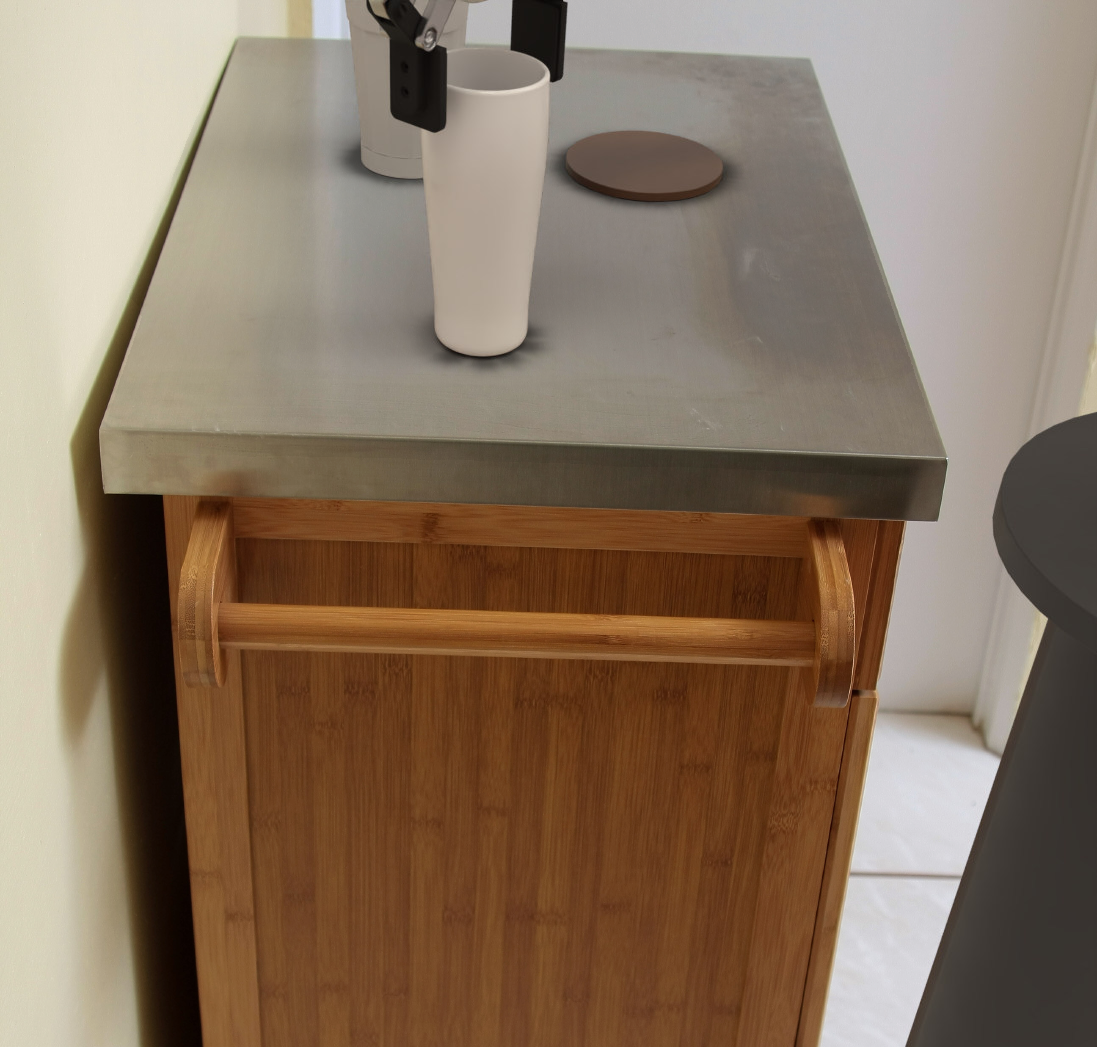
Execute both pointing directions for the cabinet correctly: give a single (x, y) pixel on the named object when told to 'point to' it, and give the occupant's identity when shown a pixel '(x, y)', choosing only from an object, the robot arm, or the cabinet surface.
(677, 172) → the coaster
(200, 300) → the cabinet surface
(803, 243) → the cabinet surface
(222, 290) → the cabinet surface
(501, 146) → the white tumbler
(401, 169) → the cup
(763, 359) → the cabinet surface
